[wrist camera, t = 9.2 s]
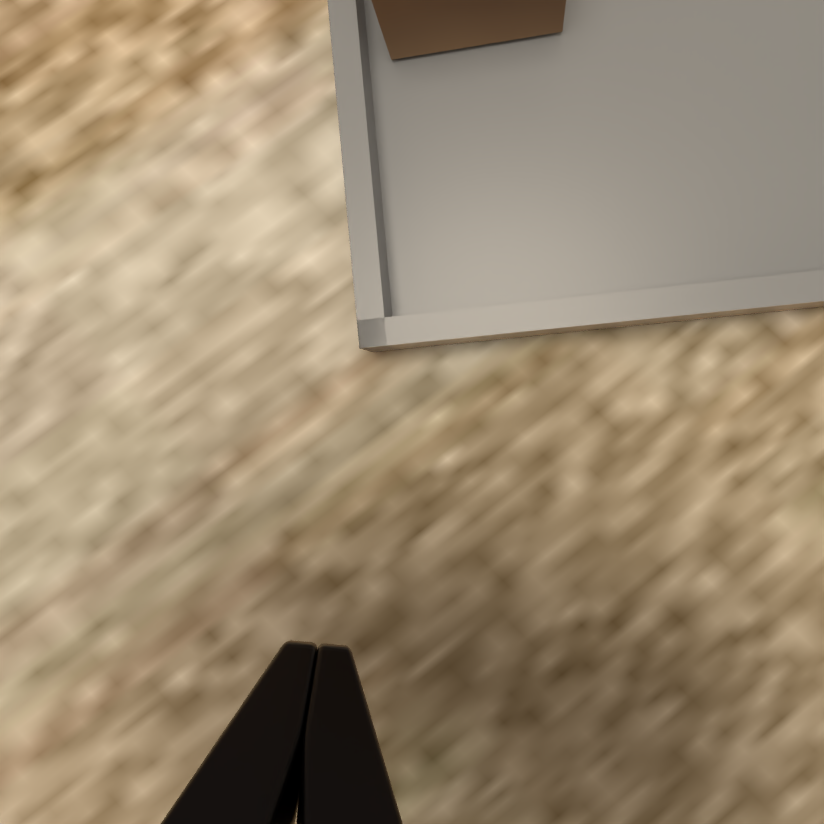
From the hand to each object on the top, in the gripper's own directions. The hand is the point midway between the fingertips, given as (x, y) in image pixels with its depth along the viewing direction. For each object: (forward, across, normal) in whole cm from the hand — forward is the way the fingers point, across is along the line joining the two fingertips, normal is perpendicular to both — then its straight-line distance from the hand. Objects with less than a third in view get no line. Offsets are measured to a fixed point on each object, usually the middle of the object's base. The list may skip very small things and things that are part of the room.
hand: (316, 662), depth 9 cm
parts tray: (+16, -10, -6) cm, 19 cm away
